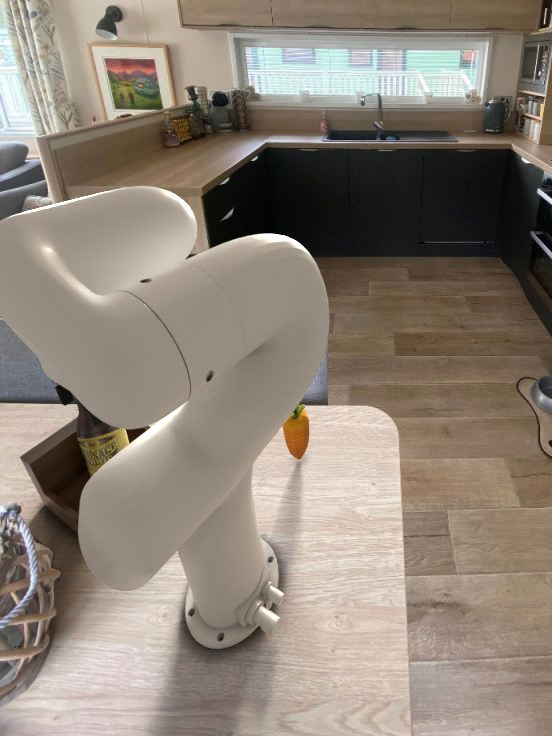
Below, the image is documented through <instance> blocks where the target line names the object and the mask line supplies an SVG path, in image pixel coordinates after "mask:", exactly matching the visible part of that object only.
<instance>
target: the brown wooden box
mask: <svg viewBox="0 0 552 736" xmlns="http://www.w3.org/2000/svg"><path fill="white" fill-rule="evenodd" d="M76 420H77V417H75V418H73V419H72V420H71V421H69V422H67V423H66V424H65V425H64V426H62V427H61V428H59V429H57V430H56V431H55V432H53V433H52V434H50V435H49V436H48V437H46V438H45V439H43V440H42V441H40V442H39V443H38V444H36V445H34V446H33V447H32V448H30V449H29V450H27V451H26V452H24V453H23V454H21V455H20V456H19V459H20V461H21V462H22V464H23V466H24V468H25V470H26V472H27V474H28V476H29V477H30V480H31V482H32V484H33V485H34V487H35V489H36V491H37V493H38V495H39V497H40V499H41V500H42V501H41V502H42V503H43V504H44V506H46V508H48V509H49V510H50V511H51V512H52V513H54V514H55V516H57V517H58V518H59V519H60V520H61V521H63V522H64V523H65V524H66V525H67V526H68V527H69V528H70V529H72V530H73V531H74V532H75V533H76V534H78V520H79V507H80V498H81V494H82V491H83V489H84V487H85V485H86V483H87V482H88V481H89V479H90V478H91V475H90V473H89V470H88V467H87V464H86V461H85V459H84V456H83V453H82V450H81V447H80V444H79V442H78V438H77V421H76ZM151 427H152V426H151V425H148V426H145V427H142V428H137V429H125V430H126V433H127V437H128V440H129V444H130V443H131V442H133V441H134V440H135V439H137V438H138V437H139V436H141V435H142V434H143V433H145V432H146V431H147V430H149V429H150V428H151Z"/></svg>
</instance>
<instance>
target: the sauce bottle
mask: <svg viewBox="0 0 552 736" xmlns="http://www.w3.org/2000/svg"><path fill="white" fill-rule="evenodd" d="M72 396H73V399H74V401H73V402H75V403H76V406H77V411H78V415H77V416H76V418H77V420H76V421H77V438H78V442H79V444H80V447H81V450H82V453H83V456H84V459H85V461H86V464H87V467H88V470H89V473H90V475H91V477H92V476H93V475H94V474H95V473H96V472H97V471H98V470H99V469H100V468H101V467H102V466H103V465H104V464H105V463H106V462H107V461H109V460H110V459H111V458H112V457H114V456H115V455H116V454H117V453H119V452H120V451H121V450H122V449H124V448H125V447H126V446H128V445H129V440H128V437H127V433H126V430H125V429H120V428H117V427H113V426H111V425H109V424H107V423H105V422H102V423H101V424H100V425H98V426H95V425H93V423H92V420H91V418H90V415H89V413H88V410H87V409H86V408H85V407H84V406H83V405H82V403H81V402H80V401H79V400H78V399H77V398H76V397H75V396H74V395H73V394H72Z"/></svg>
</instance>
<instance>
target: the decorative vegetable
mask: <svg viewBox="0 0 552 736" xmlns="http://www.w3.org/2000/svg"><path fill="white" fill-rule="evenodd" d="M305 408H306V405H305V404H300V403H299V404H298V406H297V407H296V408H295V410H294V411H293V412H292V414H291V415H290V416H289V418H288V419H287V420H286V422H285V423H284V424H283V425H282V427H281V428H282V431H283V432H282V433H283V436H284V440H285V444H286V447H287V449H288V451H289V453H290V455H291V456H292V457H293V458H295V459H297V460H301V459H302V458H303V457H304V455H305V453H306V451H307V449H308V446H309V441H310V420H309V419H310V418H309V417H308V413H307V410H306V409H305Z"/></svg>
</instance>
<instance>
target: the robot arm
mask: <svg viewBox="0 0 552 736" xmlns="http://www.w3.org/2000/svg"><path fill="white" fill-rule="evenodd" d="M197 238H198V223H197V220H196V216H195V214H194V211H193V210H192V209H191V206H190V205H189V204H188V203H187V202H186V201H185V200H184V199H182V198H181V197H180V196H178V195H177V194H175V193H173V192H172V191H170V190H167V189H165V188H164V189H163V188H160V187H156V186H148V185H137V186H125V187H124V186H123V187H121V188H115V189H111V190H106V191H102V192H98V193H95V194H91V195H87V196H82V197H79V198H74V199H70V200H67V201H62V202H59V203H55V204H51V205H46V206H42V207H39V208H35V209H31V210H27V211H23V212H20V213H15V214H12V215H9V216H7V217H6V218H3V219H2V220H0V318H1V319H2V320H3V322H5V323H6V325H7V326H8V327H9V328H10V329H11V330H12V332H14V333H15V335H16V336H17V337H18V338H19V339H20V340H21V341H22V343H24V344H25V345H26V346H27V347H28V348H29V350H31V351H32V352H33V353H34V354H35V355H36V357H37V359H38V362H39V364H40V366H41V369H42V370H43V372H44V373H45V375H46V376H47V377H48V378H49V379H50V380H51V382H52V384H53V385H54V390H55V392H56V394H57V396H58V398H59V401H60V403H61V405H62V406H68V405H70V404H71V403H72V402H75V401H74V399H73V396H72V394H73V395H74V396H75V397H76V398H77V399H78V400H79V401H80V402H81V403H82V405H83V406H84V407H85V408H86V409H87V410H88V413H89V415H90V418H91V420H92V423H93V425H95V426H98V425H100V424H101V423H102V422H105V423H107V424H109V425H111V426H113V427H117V428H120V429H137V428H142V427H145V426H150V427H151V428H150V429H149V430H147V431H146V432H145V433H143V434H142V435H141V436H139V437H138V438H137V439H135V440H134V441H133V442H131V443H130V444H129V445H128V446H126V447H125V448H124V449H122V450H121V451H120V452H119V453H117V454H116V455H115V456H114V457H112V458H111V459H110V460H109V461H107V462H106V463H105V464H104V465H103V466H102V467H101V468H100V469H99V470H98V471H97V472H96V473H95V474H94V475H93V476H92V477H91V478H90V479H89V481H88V482H87V483H86V485H85V487H84V489H83V491H82V494H81V498H80V507H79V520H78V533H77V536H78V543H79V548H80V551H81V554H82V557H83V559H84V562H85V564H86V565H87V567H88V569H89V570H90V572H91V573H92V574H93V575H94V576H95V578H96V579H97V580H98V581H100V582H101V583H102V584H104V585H105V586H107V587H109V588H111V589H113V590H117V591H120V592H121V591H122V592H131V591H135V590H139V589H141V588H142V587H144V586H145V585H147V584H148V583H149V582H150V581H151V580H152V579H153V578H154V577H155V576H156V575H157V573H158V572H159V571H160V570H161V569H162V568H163V567H164V566H165V564H166V563H167V562H168V561H169V560H170V559H171V558H172V557H173V556H174V555H175V554H176V553H178V556H179V559H180V562H181V565H182V568H183V571H184V574H185V577H186V580H187V583H188V588H187V593H186V596H185V600H184V601H185V602H184V618H185V622H186V626H187V628H188V631H189V633H190V635H191V636H192V637H193V639H194V640H195V641H196V643H198V644H200V645H201V646H203V647H205V648H209V649H213V650H214V649H215V650H219V649H221V650H222V649H227V648H230V647H233V646H235V645H237V644H239V643H240V642H243V641H244V640H245V639H246V638H248V637H249V636H251V635H252V634H253V632H255V631H256V630H257V629H258V628H259V627H260V629H261V630H262V632H264V633H265V634H267V636H269V637H270V638H273V637H274V636H275V635H276V634H277V632H278V630H279V629H280V625H281V624H282V618H281V617H280V616H278V615H277V614H276V613H274V612H273V611H272V610H271V608H272V606H273V604H275V605H276V606H278V607H281V606H282V604H283V603H284V600H285V598H286V594H285V593H284V592H283V591H281V590H280V589H278V587H279V578H280V577H279V576H280V574H279V573H280V572H279V564H278V560H277V556H276V554H275V551H274V550H273V549H272V547H271V546H270V544H269V543H267V542H266V541H265V540H264V539H263V538H262V536H261V530H260V525H259V519H258V515H257V510H256V503H255V497H254V492H253V472H254V464H255V462H256V461H257V459H258V457H259V456H261V453H263V450H265V448H266V447H267V446H268V445H269V444H270V443H271V442H272V440H273V439H274V438H275V437H276V435H277V433H279V431H280V430H281V428H283V427H282V425H283V424H284V423H285V422H286V420H287V419H288V418H289V416H290V415H291V414H292V412H293V411H294V410H295V408H296V407H297V406H298V404H299V405H300V403H301V401H302V400H303V398H304V397H305V395H306V394H307V392H308V390H309V388H311V385H312V384H313V381H314V380H315V377H316V376H317V374H318V371H319V369H320V367H321V364H322V362H323V358H324V355H325V353H326V348H327V345H328V339H329V334H330V333H329V332H330V323H331V321H330V319H331V318H330V304H329V297H328V293H327V288H326V284H325V282H324V278H323V275H322V273H321V271H320V269H319V266H318V263H317V262H316V261H315V259H314V257H313V256H312V255H311V253H310V252H309V250H307V248H305V247H304V246H303V245H302V244H301V243H300V242H298V241H297V240H295V239H293V238H290V237H289V236H286V235H281V234H276V233H257V234H251V235H246V236H242V237H238V238H235V239H231V240H229V241H226V242H223V243H221V244H218V245H216V246H214V247H211V248H208V249H206V250H204V251H202V252H200V253H197V254H195V255H193V256H191V257H189V255H191V252H192V250H193V249H194V246H195V243H196V241H197ZM153 424H154V425H153ZM151 425H152V426H151Z"/></svg>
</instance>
